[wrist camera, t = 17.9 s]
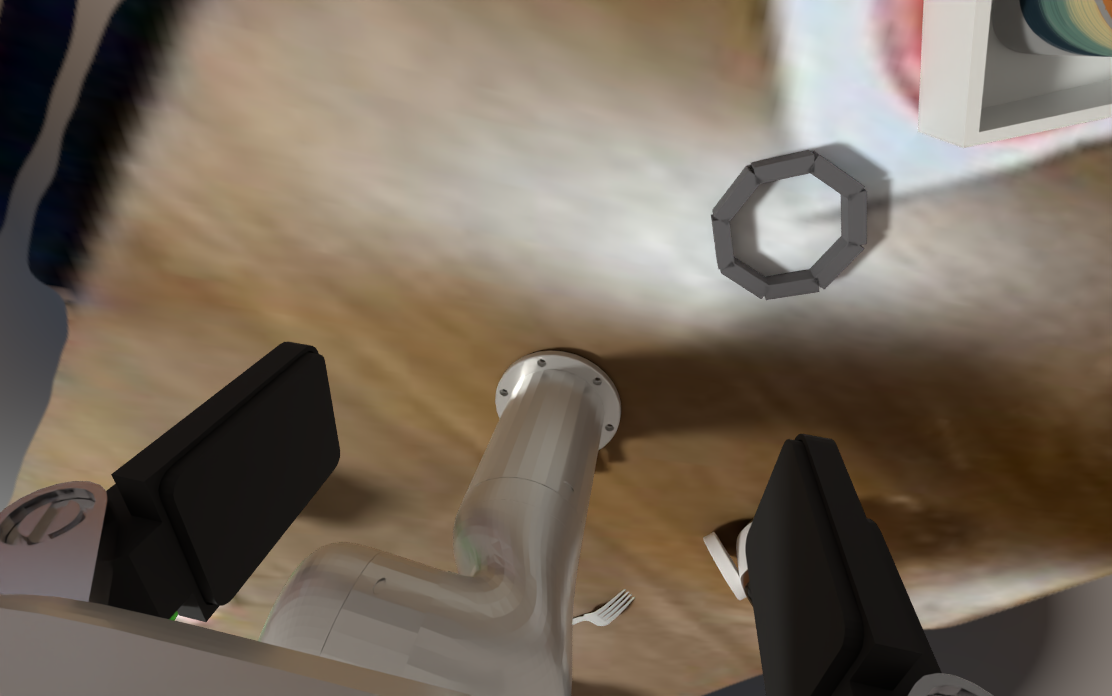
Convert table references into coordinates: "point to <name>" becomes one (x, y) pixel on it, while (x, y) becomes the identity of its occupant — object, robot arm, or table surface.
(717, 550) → the spread jar
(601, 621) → the fork
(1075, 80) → the bin
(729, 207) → the collar
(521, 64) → the table surface
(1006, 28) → the lotion bottle
